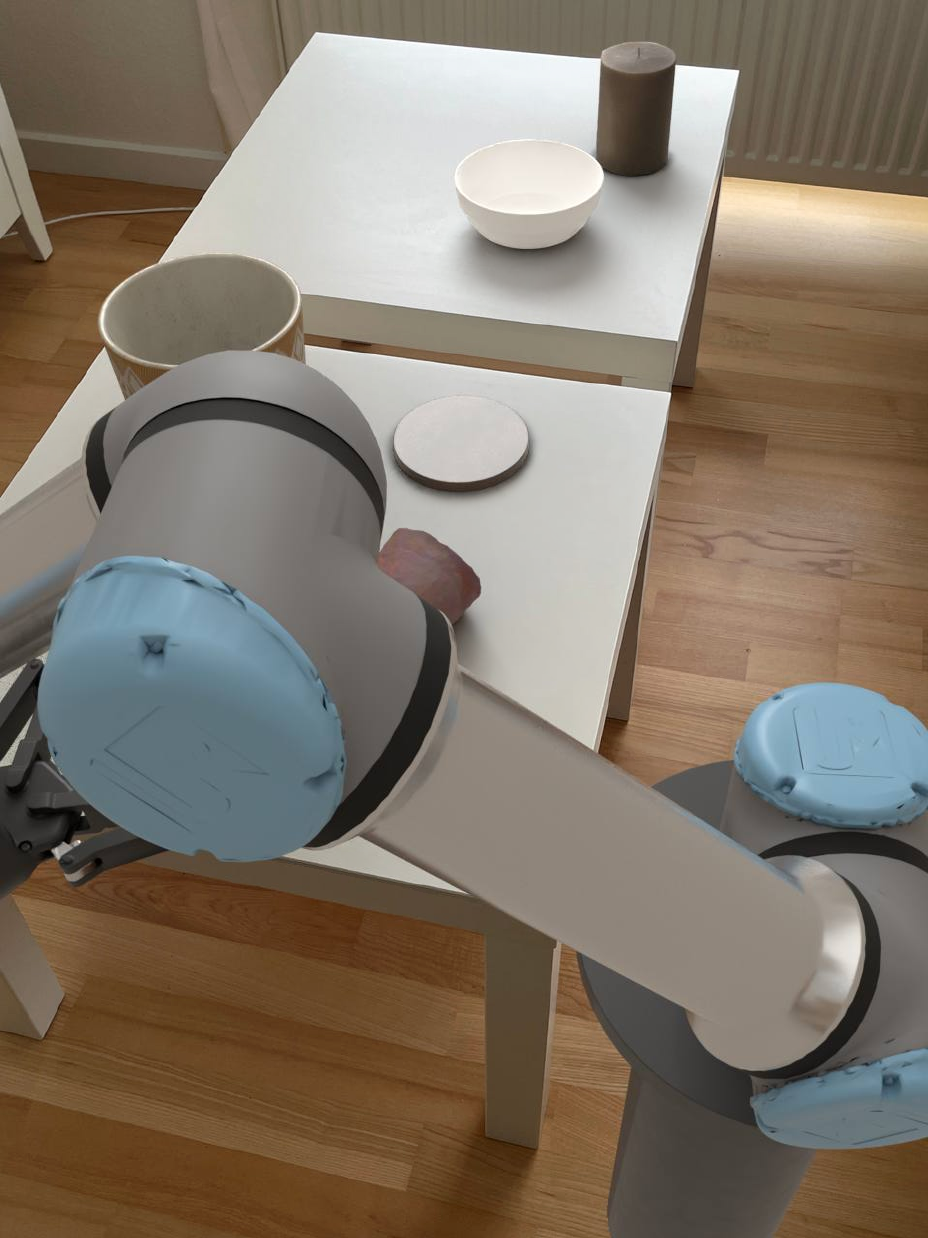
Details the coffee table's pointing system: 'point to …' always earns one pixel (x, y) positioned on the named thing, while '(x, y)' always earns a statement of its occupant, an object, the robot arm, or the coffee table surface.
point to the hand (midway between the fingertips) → (203, 680)
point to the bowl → (528, 191)
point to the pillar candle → (635, 107)
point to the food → (430, 571)
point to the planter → (199, 314)
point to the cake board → (461, 443)
